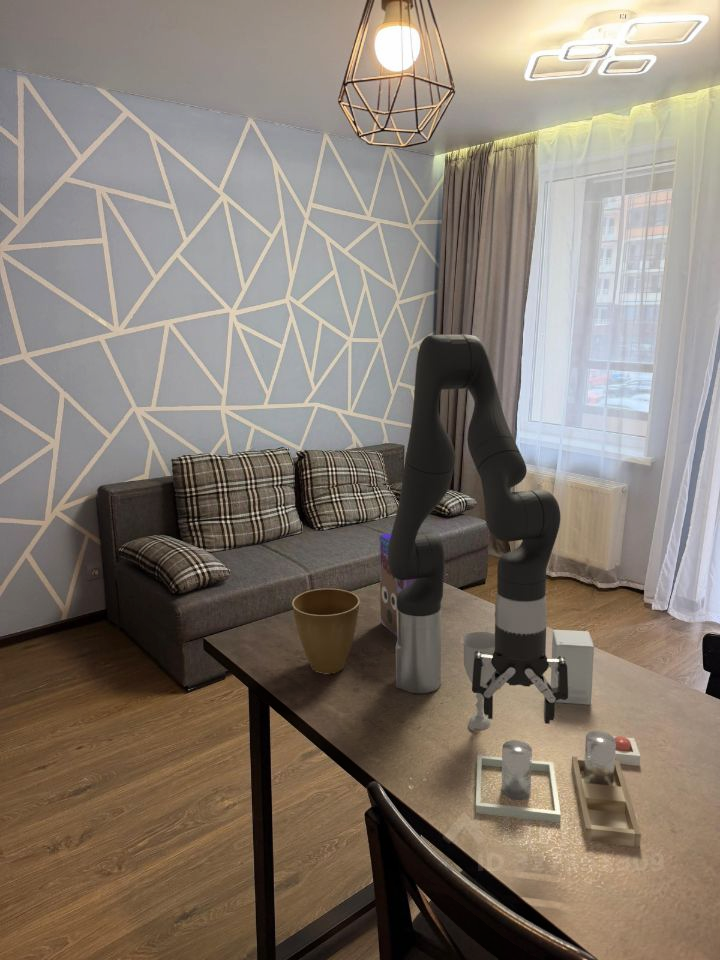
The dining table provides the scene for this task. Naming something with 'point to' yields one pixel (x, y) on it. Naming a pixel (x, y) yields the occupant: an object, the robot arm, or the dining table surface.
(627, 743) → the button
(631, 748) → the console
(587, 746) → the cylinder
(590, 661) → the supplement box
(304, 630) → the plant pot
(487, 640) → the chalice
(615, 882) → the dining table surface
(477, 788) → the square tray frame
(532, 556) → the robot arm
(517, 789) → the cylinder
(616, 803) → the pocket board
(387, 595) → the cereal box
